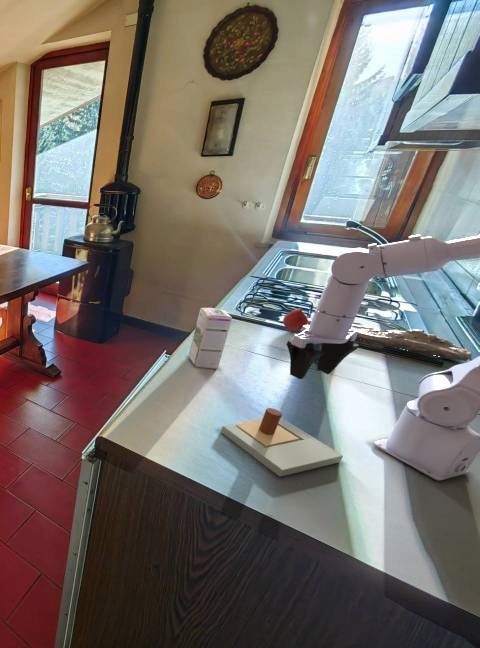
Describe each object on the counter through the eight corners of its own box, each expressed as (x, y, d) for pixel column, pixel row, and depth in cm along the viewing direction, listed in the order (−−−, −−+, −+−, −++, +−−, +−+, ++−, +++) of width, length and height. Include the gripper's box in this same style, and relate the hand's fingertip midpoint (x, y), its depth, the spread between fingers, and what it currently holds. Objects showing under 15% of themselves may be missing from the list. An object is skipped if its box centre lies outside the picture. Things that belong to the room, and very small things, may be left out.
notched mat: (339, 462, 69) (343, 455, 69) (279, 476, 66) (282, 470, 65) (275, 421, 80) (277, 415, 79) (220, 431, 76) (222, 425, 76)
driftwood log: (303, 325, 130) (300, 335, 124) (307, 310, 128) (305, 320, 122) (464, 353, 108) (471, 368, 102) (473, 336, 106) (481, 350, 100)
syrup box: (218, 369, 99) (234, 317, 94) (193, 366, 100) (207, 314, 95) (210, 359, 104) (225, 308, 99) (186, 356, 105) (200, 306, 100)
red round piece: (275, 329, 123) (284, 306, 120) (286, 326, 126) (294, 303, 122) (296, 337, 118) (305, 312, 115) (306, 333, 121) (316, 310, 118)
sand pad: (296, 444, 73) (307, 418, 71) (263, 452, 71) (273, 425, 69) (264, 424, 79) (274, 399, 77) (233, 430, 77) (242, 404, 75)
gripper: (339, 302, 79) (315, 360, 85) (285, 308, 75) (264, 369, 81) (381, 314, 73) (352, 377, 78) (325, 321, 69) (299, 386, 75)
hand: (310, 374), depth 79 cm, fingers open, 7 cm apart
